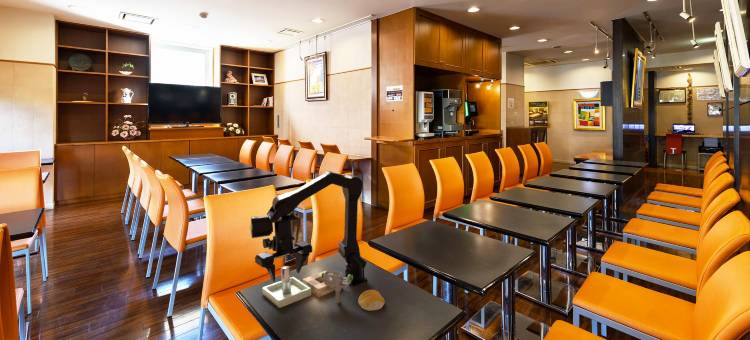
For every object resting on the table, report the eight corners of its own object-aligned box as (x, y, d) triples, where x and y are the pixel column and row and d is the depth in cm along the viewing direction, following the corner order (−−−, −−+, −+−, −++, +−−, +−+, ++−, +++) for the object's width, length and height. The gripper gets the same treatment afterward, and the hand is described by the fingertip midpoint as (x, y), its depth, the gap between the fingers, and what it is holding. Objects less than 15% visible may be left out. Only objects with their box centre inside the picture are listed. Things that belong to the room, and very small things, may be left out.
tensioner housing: (326, 277, 135) (325, 270, 135) (342, 287, 128) (341, 279, 127) (303, 286, 129) (302, 279, 128) (318, 297, 121) (318, 289, 121)
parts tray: (293, 282, 132) (293, 276, 131) (311, 295, 123) (311, 288, 122) (262, 294, 124) (262, 287, 123) (279, 308, 115) (278, 300, 114)
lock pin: (288, 289, 125) (287, 265, 124) (292, 292, 123) (291, 268, 121) (280, 292, 123) (279, 267, 122) (285, 295, 121) (283, 270, 119)
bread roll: (378, 295, 123) (378, 284, 122) (387, 308, 114) (387, 297, 114) (355, 299, 120) (355, 288, 119) (362, 313, 112) (362, 301, 111)
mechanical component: (351, 305, 116) (351, 277, 114) (321, 302, 118) (320, 274, 116) (354, 301, 119) (353, 272, 117) (324, 298, 121) (323, 270, 119)
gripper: (295, 222, 132) (297, 261, 134) (246, 234, 119) (249, 277, 122) (312, 229, 123) (314, 271, 126) (261, 242, 111) (264, 289, 114)
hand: (286, 277), depth 122 cm, fingers open, 9 cm apart
